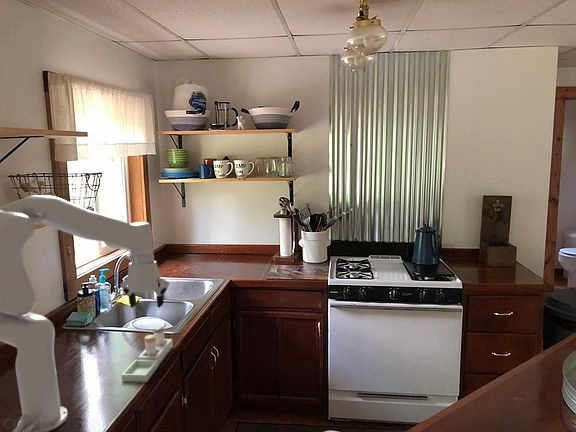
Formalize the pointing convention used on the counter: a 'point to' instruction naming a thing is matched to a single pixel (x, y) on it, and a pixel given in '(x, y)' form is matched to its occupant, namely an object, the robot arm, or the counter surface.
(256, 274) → the counter surface
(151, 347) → the cylinder
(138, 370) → the tray
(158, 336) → the cylinder
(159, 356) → the holder block
